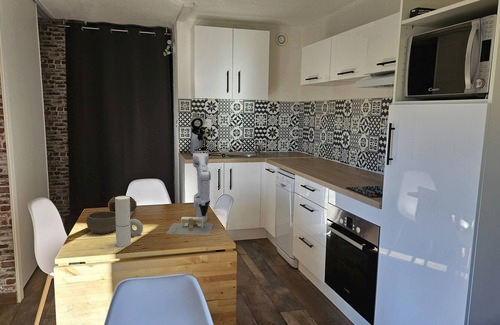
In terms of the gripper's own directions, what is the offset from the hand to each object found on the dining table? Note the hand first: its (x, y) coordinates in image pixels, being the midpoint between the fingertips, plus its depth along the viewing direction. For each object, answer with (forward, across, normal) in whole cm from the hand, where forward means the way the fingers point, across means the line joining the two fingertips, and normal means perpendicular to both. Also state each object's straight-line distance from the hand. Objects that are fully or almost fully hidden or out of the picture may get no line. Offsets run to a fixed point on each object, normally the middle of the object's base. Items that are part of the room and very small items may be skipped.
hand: (204, 214), depth 218 cm
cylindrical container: (+10, +28, -39) cm, 49 cm away
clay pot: (+10, -28, -56) cm, 64 cm away
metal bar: (+8, +6, -16) cm, 19 cm away
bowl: (+10, +7, -57) cm, 59 cm away
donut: (+10, +14, -37) cm, 41 cm away
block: (+9, -6, -8) cm, 13 cm away
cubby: (+9, +1, -8) cm, 12 cm away
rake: (+9, 0, -8) cm, 11 cm away
